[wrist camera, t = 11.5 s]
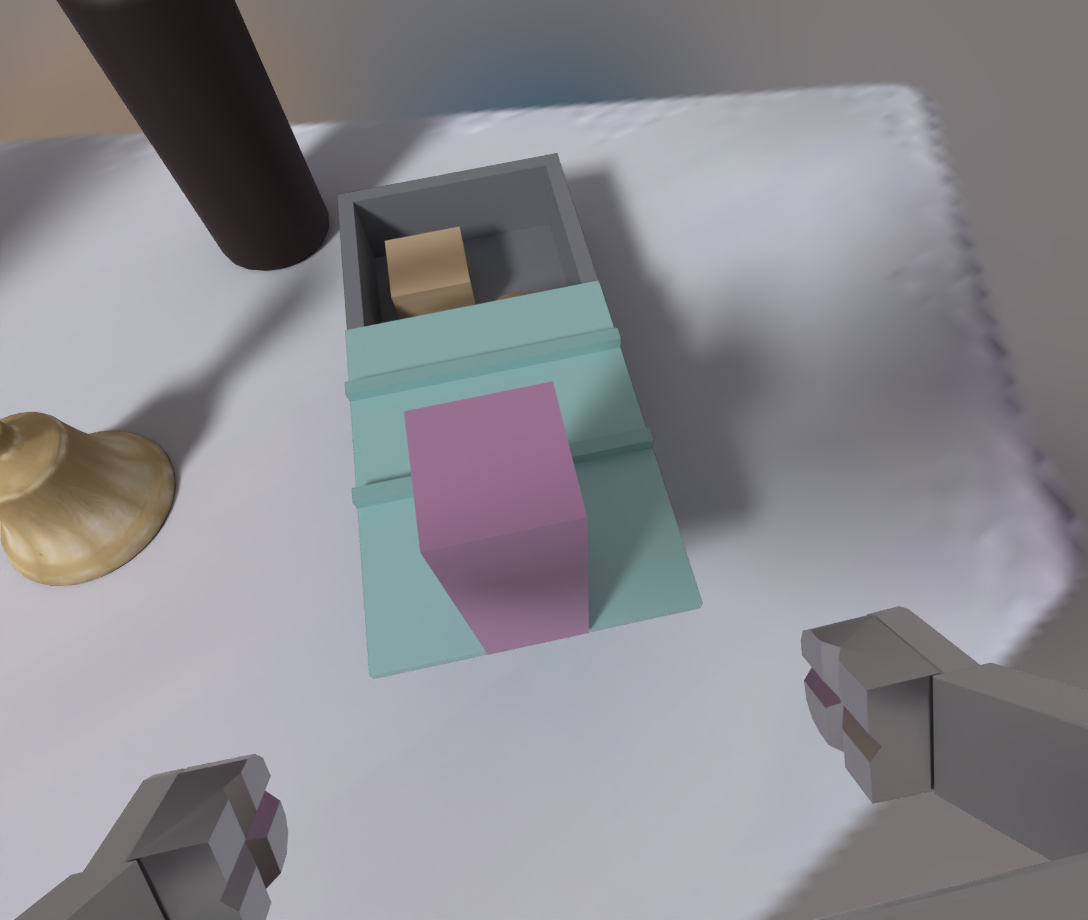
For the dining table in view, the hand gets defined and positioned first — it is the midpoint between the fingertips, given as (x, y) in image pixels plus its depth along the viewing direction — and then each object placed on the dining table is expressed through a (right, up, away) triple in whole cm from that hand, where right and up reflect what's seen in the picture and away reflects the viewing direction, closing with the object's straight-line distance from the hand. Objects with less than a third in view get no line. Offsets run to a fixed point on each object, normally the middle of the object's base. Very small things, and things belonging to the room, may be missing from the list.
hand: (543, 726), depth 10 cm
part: (-6, +13, +27) cm, 30 cm away
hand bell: (-22, +2, +23) cm, 32 cm away
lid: (-2, +4, +17) cm, 17 cm away
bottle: (-17, +18, +31) cm, 40 cm away
